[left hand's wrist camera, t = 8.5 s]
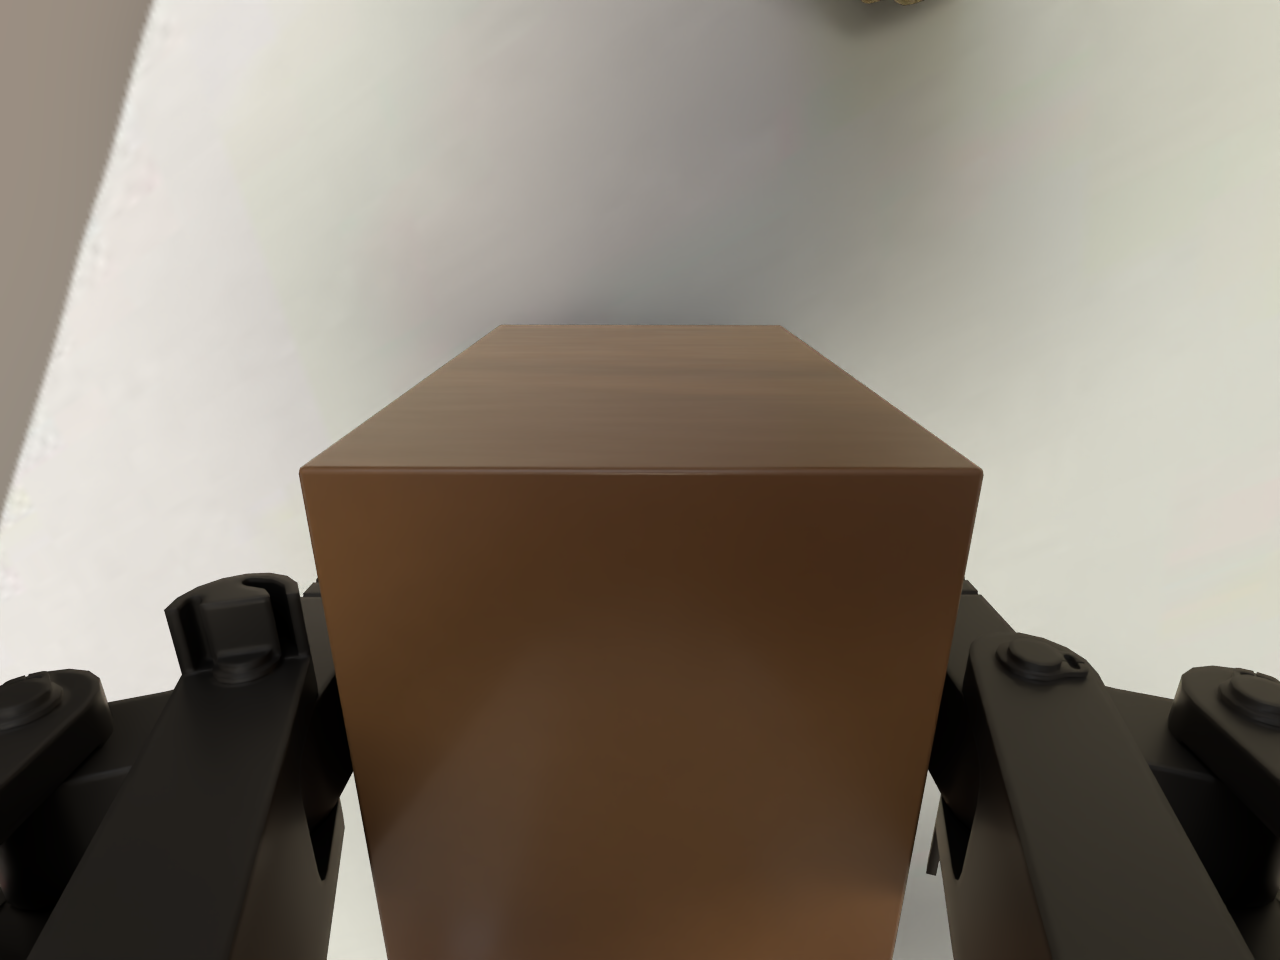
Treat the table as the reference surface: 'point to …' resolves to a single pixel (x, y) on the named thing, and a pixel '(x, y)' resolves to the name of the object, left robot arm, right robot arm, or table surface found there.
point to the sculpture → (901, 0)
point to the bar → (640, 645)
